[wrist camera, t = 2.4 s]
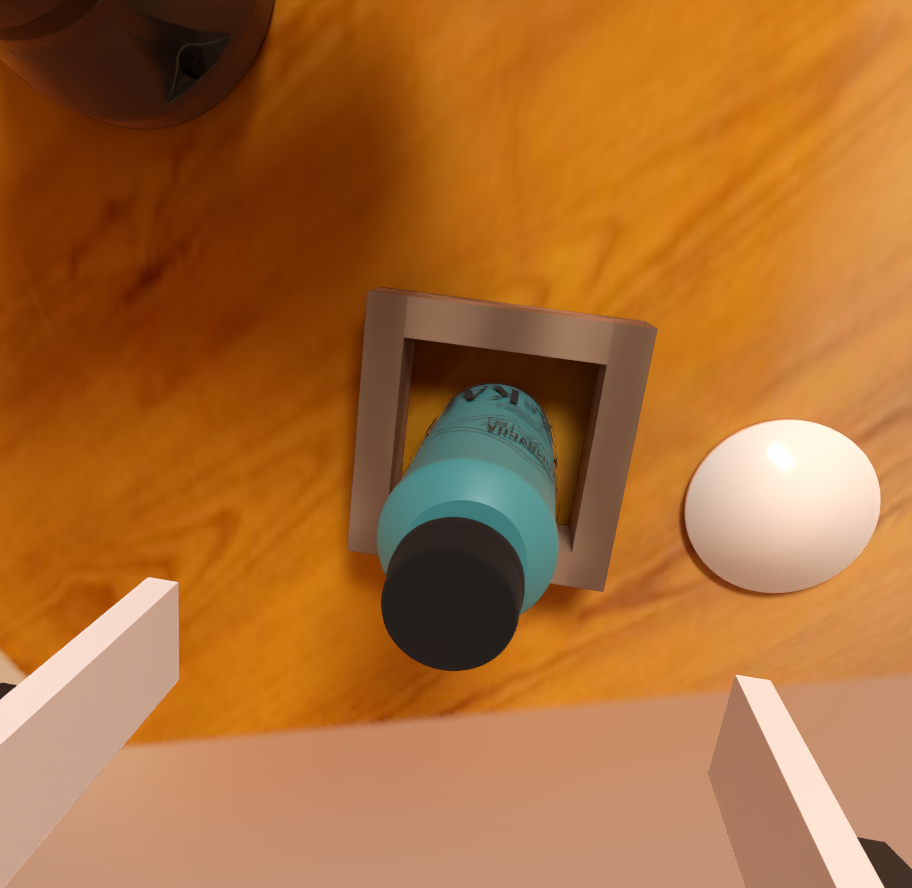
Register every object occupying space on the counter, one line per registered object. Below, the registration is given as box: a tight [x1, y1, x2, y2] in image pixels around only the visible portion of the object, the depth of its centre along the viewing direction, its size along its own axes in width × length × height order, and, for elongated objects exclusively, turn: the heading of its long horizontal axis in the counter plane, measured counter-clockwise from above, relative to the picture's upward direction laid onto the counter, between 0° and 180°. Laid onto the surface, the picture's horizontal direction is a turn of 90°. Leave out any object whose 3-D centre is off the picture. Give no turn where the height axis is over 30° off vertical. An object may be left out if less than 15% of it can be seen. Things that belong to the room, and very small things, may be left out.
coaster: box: [684, 419, 881, 593], centre depth 36 cm, size 10×10×1 cm
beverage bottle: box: [376, 382, 560, 671], centre depth 27 cm, size 6×7×20 cm
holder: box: [347, 287, 657, 592], centre depth 35 cm, size 14×14×4 cm
